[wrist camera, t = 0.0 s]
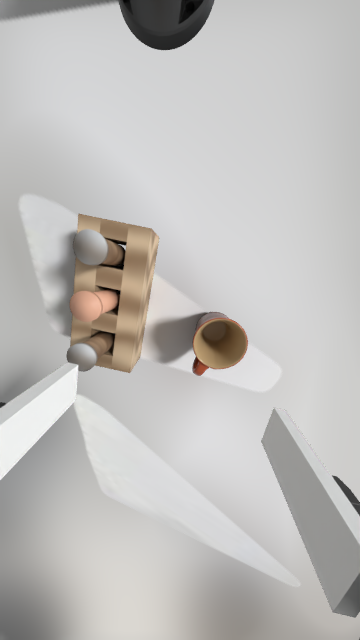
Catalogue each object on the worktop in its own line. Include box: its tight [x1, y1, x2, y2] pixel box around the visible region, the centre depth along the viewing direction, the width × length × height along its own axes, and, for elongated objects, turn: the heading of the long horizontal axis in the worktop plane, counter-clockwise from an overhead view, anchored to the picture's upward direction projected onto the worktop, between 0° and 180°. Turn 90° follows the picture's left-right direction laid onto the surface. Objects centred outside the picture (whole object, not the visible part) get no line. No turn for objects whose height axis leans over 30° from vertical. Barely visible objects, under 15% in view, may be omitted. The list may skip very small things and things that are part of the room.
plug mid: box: [70, 290, 120, 322], centre depth 30 cm, size 4×4×9 cm
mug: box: [192, 312, 248, 376], centre depth 35 cm, size 12×9×10 cm
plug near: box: [73, 229, 126, 266], centre depth 28 cm, size 4×4×9 cm
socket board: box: [70, 214, 159, 373], centre depth 36 cm, size 26×12×7 cm, turn 169°
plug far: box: [67, 331, 115, 371], centre depth 32 cm, size 4×4×9 cm
